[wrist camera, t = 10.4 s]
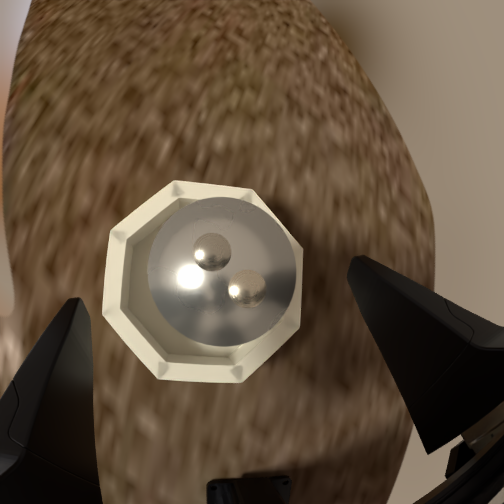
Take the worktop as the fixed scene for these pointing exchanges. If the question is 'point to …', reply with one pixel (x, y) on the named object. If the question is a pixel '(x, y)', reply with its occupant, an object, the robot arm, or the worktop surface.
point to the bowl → (149, 317)
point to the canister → (222, 271)
